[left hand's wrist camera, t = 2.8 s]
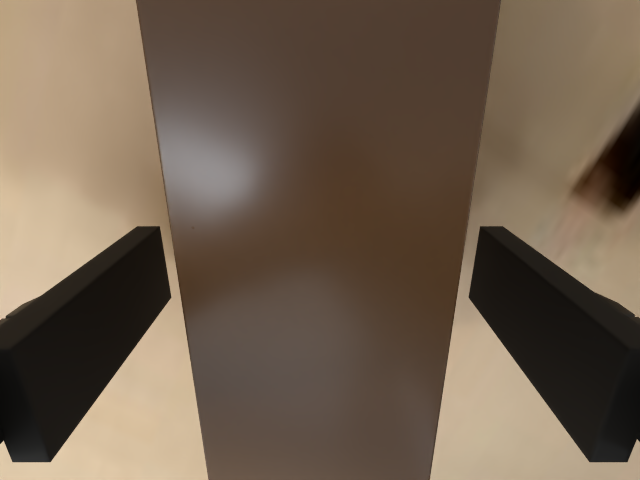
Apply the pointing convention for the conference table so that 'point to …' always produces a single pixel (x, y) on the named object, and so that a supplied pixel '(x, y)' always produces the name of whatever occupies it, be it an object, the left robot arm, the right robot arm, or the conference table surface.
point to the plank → (318, 220)
